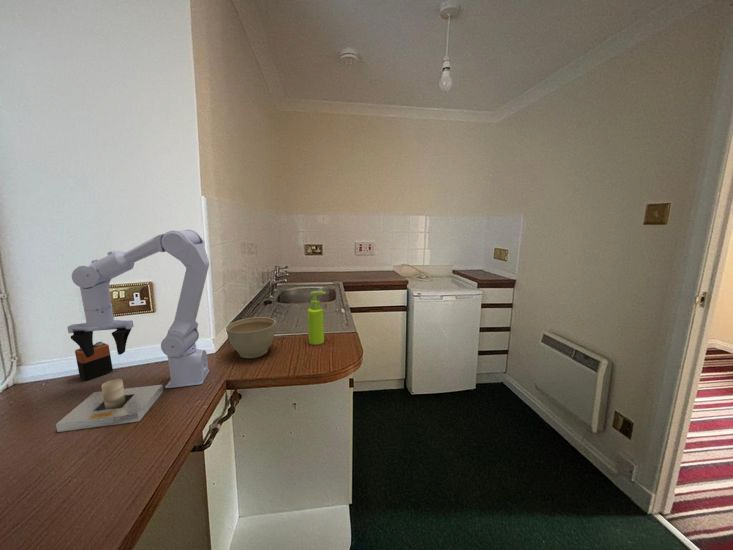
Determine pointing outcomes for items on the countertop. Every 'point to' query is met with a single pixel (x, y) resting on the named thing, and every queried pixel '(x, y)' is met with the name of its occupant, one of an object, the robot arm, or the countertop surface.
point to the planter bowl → (251, 336)
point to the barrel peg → (113, 394)
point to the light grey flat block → (97, 416)
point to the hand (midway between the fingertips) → (106, 354)
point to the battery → (94, 362)
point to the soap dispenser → (316, 320)
